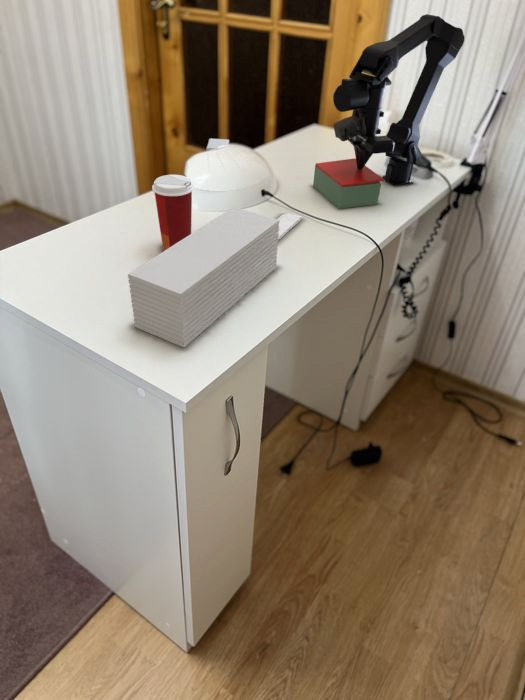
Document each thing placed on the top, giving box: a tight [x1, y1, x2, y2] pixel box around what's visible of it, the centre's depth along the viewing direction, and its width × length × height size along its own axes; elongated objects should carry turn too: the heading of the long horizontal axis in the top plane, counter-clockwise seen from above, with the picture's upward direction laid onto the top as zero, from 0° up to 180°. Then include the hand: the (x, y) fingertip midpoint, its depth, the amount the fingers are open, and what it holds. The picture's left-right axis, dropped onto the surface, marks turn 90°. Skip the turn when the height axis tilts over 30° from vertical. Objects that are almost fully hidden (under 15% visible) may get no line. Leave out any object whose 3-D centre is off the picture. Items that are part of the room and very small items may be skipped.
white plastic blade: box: [277, 212, 302, 241], centre depth 124 cm, size 5×15×1 cm, turn 152°
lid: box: [314, 157, 385, 187], centre depth 139 cm, size 12×15×1 cm
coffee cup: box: [151, 174, 194, 251], centre depth 111 cm, size 8×8×15 cm
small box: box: [205, 138, 231, 151], centre depth 142 cm, size 8×6×10 cm
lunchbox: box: [312, 166, 382, 210], centre depth 141 cm, size 11×15×6 cm
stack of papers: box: [127, 206, 279, 348], centre depth 99 cm, size 32×11×11 cm, turn 150°
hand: (359, 169), depth 139 cm, fingers closed
